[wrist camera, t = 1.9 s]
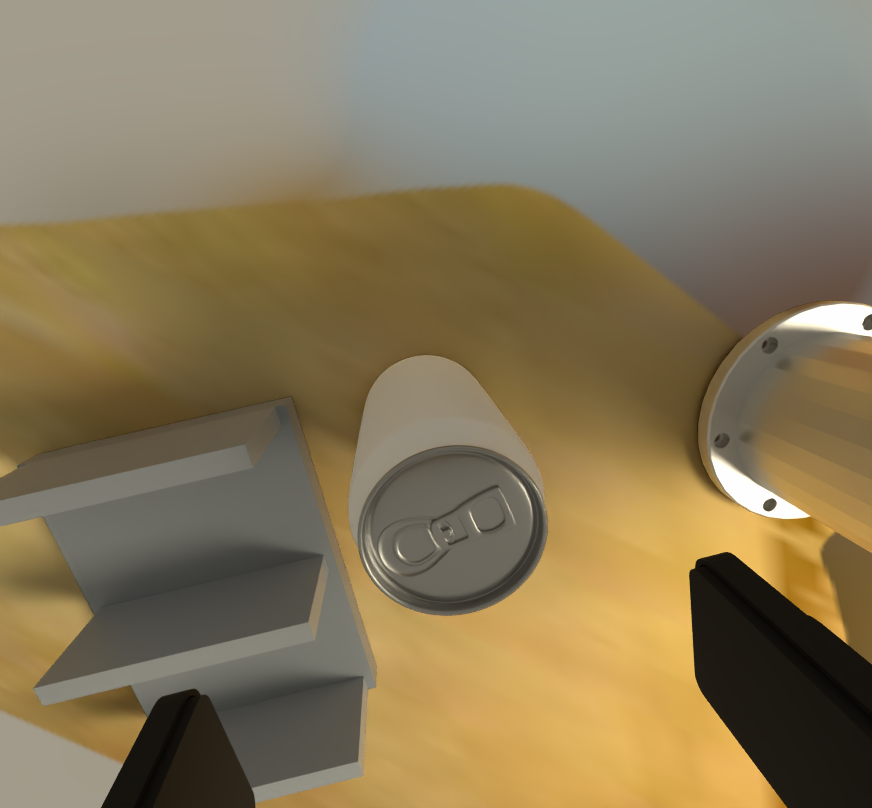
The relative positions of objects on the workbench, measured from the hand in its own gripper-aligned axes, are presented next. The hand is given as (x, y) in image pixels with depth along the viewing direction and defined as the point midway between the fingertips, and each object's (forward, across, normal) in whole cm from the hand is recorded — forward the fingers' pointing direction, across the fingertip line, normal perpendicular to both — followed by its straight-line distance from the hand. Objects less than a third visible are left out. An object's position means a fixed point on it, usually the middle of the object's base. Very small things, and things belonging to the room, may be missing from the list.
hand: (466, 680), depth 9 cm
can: (+17, -1, 0) cm, 17 cm away
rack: (+17, +12, +7) cm, 22 cm away
